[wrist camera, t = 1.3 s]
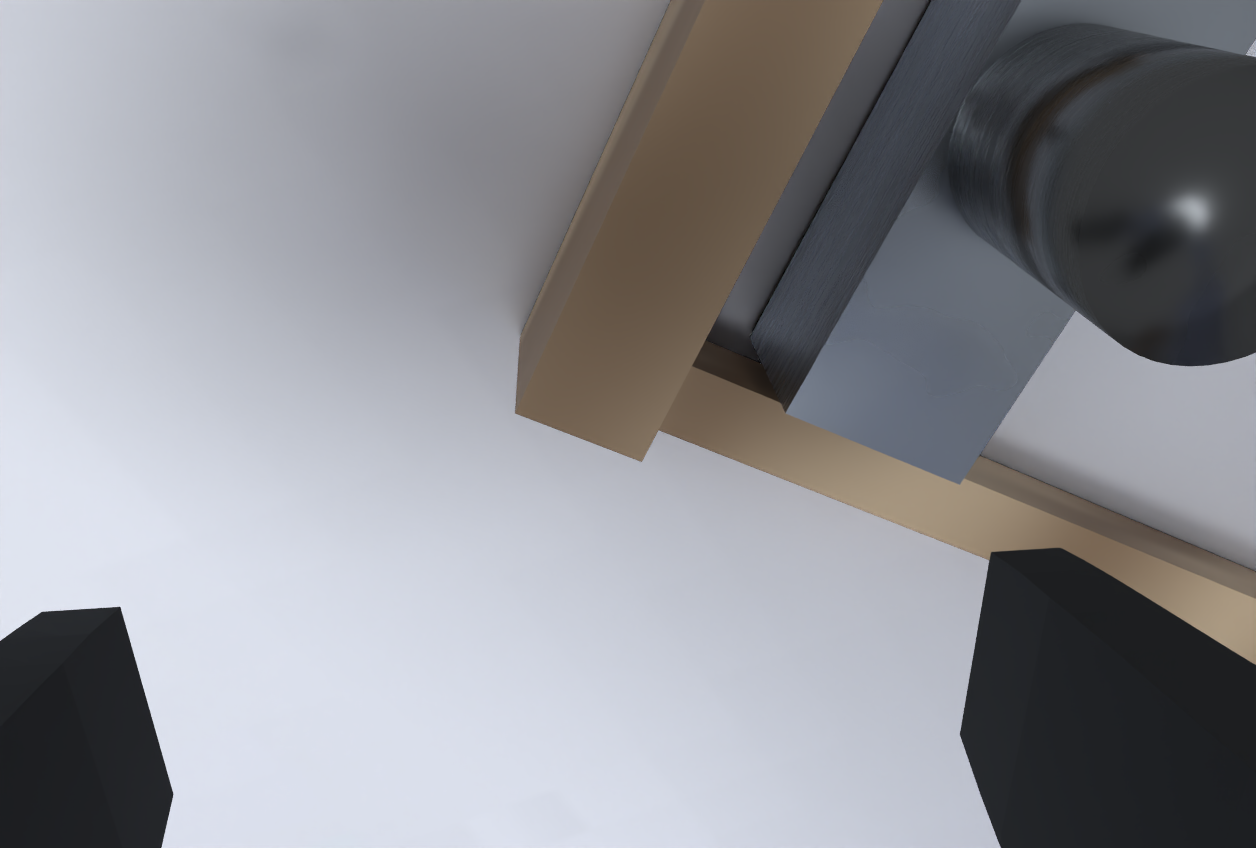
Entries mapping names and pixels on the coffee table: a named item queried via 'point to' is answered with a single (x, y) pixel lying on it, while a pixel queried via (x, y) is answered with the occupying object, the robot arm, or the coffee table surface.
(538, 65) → the coffee table surface
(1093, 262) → the block
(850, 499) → the vise frame
